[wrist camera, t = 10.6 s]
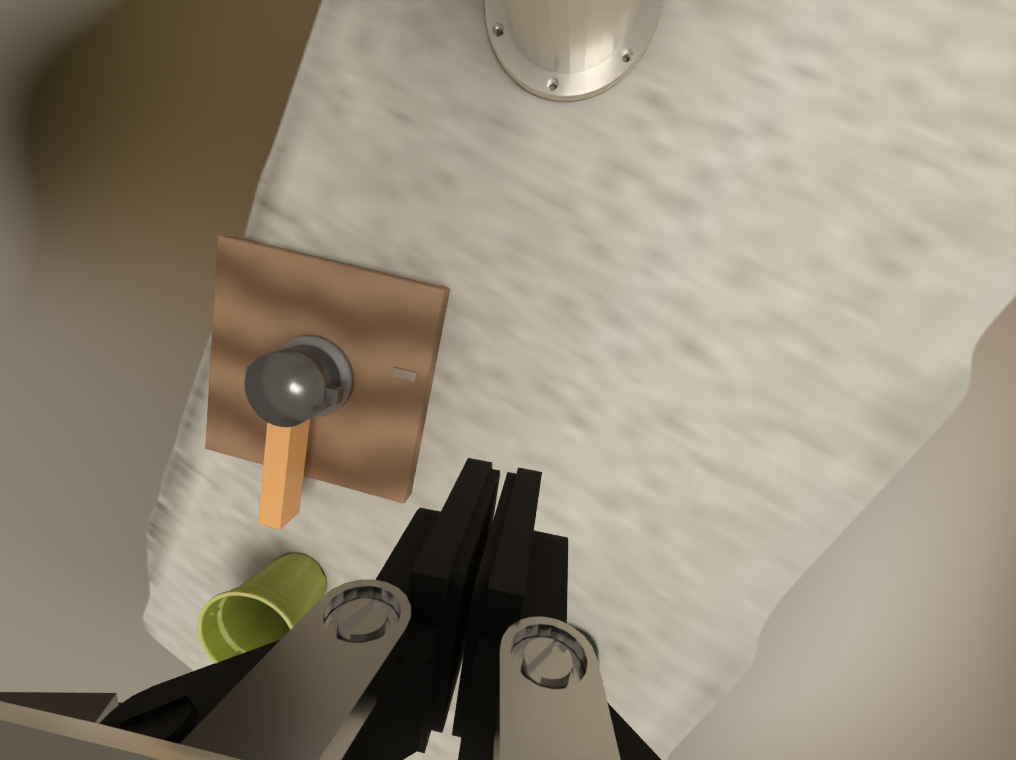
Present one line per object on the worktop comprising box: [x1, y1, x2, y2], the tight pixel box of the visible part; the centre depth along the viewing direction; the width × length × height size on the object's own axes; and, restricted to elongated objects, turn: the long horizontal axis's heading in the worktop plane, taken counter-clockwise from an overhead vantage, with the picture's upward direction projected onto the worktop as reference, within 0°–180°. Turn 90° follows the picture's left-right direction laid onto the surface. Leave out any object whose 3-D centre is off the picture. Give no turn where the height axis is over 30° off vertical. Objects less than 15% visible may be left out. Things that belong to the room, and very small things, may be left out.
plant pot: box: [197, 553, 327, 663], centre depth 46 cm, size 9×9×9 cm
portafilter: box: [245, 345, 344, 530], centre depth 41 cm, size 8×16×4 cm, turn 168°
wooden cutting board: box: [205, 236, 450, 503], centre depth 43 cm, size 20×20×3 cm
